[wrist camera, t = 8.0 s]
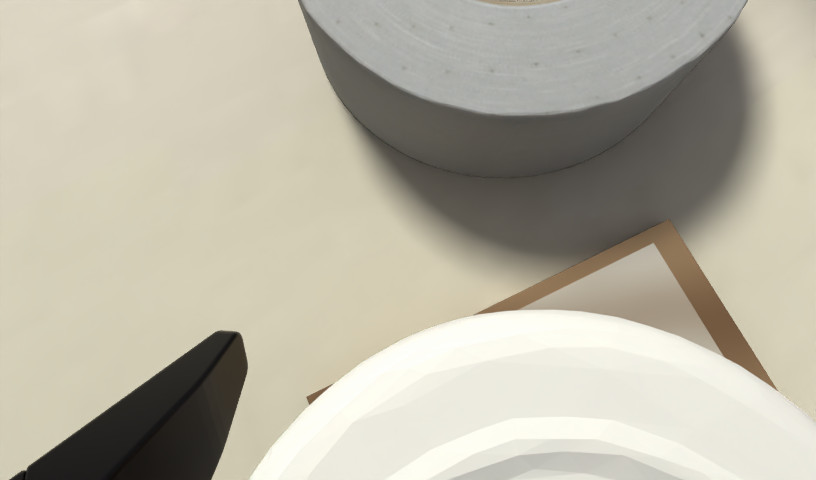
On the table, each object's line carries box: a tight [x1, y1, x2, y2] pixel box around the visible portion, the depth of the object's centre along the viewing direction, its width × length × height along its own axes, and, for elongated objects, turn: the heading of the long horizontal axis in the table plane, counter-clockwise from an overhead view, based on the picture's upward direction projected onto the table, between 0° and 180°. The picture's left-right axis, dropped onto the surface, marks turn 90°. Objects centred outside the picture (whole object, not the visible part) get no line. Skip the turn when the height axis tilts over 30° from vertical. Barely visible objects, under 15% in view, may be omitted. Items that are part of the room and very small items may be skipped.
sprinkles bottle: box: [249, 310, 816, 480], centre depth 9 cm, size 5×5×14 cm
